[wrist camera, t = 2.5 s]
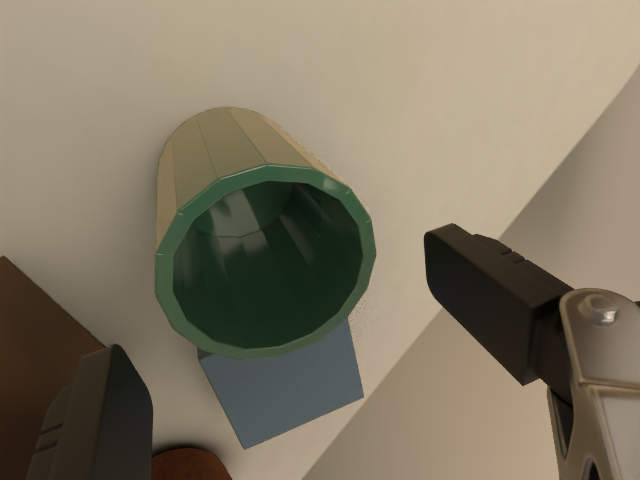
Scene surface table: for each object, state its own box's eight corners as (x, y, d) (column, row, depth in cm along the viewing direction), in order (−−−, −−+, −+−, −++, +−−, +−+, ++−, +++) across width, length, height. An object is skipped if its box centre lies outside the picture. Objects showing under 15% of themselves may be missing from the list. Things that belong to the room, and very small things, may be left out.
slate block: (192, 306, 21) (197, 360, 18) (317, 261, 22) (345, 303, 19) (233, 393, 25) (244, 450, 21) (338, 349, 26) (364, 397, 23)
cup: (133, 130, 16) (110, 211, 9) (280, 90, 18) (359, 135, 10) (188, 256, 20) (203, 388, 13) (309, 215, 21) (385, 314, 14)
